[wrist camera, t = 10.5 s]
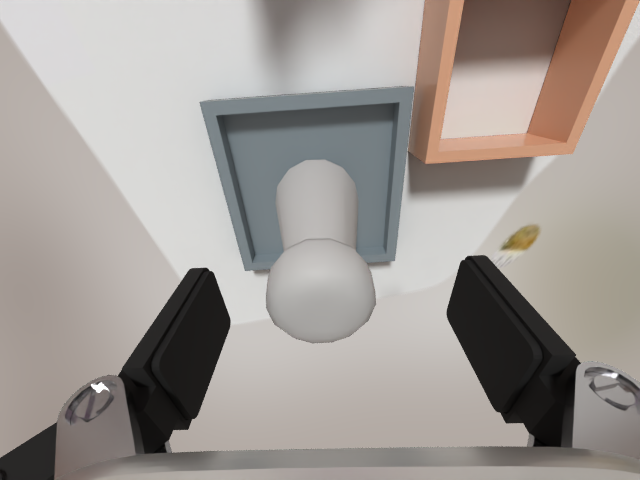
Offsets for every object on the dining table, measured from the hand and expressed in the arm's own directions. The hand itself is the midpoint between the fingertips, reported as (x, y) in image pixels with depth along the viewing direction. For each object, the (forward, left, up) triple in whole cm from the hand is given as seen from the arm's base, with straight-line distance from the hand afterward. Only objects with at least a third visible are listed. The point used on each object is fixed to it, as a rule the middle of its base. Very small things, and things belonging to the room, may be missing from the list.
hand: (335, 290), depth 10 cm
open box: (-11, -7, -13) cm, 18 cm away
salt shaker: (+1, 0, -12) cm, 12 cm away
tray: (+1, 0, -13) cm, 13 cm away
